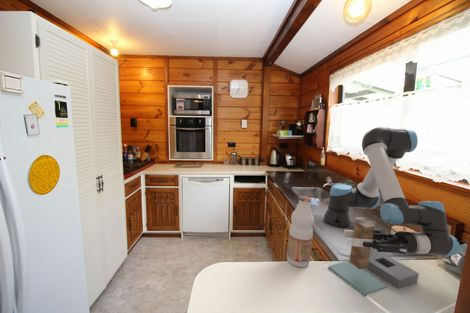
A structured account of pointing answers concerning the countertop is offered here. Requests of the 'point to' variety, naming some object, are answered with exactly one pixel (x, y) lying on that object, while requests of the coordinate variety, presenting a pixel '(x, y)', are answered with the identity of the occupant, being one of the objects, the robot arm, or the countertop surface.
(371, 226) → the walnut plug
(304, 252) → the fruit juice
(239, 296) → the countertop surface
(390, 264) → the block
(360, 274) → the pad
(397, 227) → the lidded jar
